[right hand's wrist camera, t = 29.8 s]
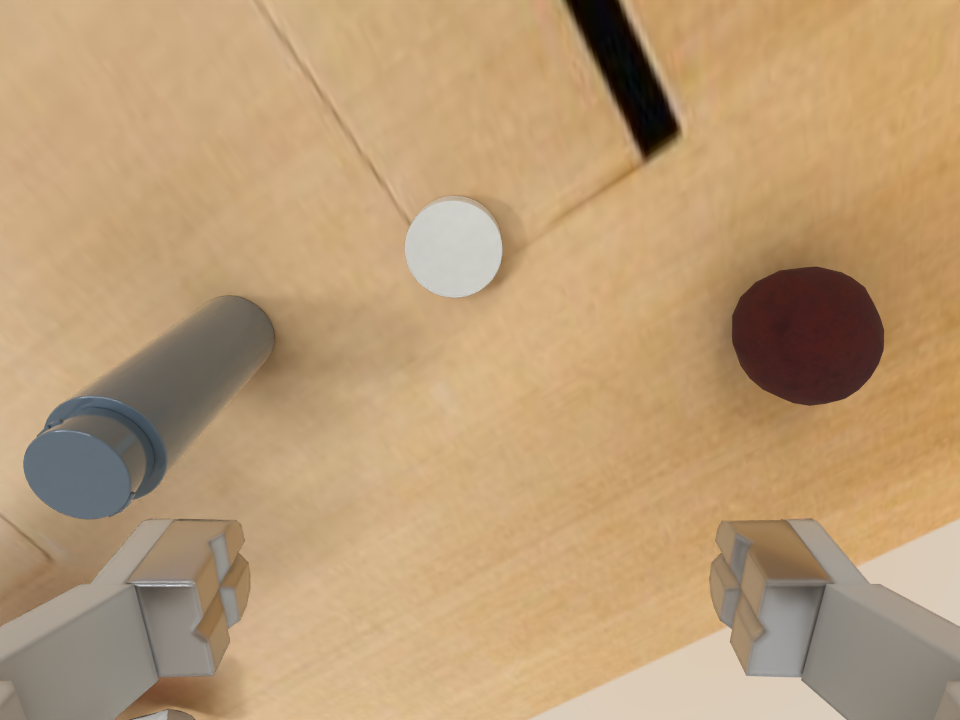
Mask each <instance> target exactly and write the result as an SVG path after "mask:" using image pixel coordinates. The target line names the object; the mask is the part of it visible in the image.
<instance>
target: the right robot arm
mask: <svg viewBox="0 0 960 720" xmlns="http://www.w3.org/2000/svg"><path fill="white" fill-rule="evenodd" d="M244 541H245V540H244V535H243V531H242V526H241V524H240V523H239V522H238V521H236V520H205V519H178V520H177V519H148V520H146V521H143V522H141V523H140V525H139V526H138V527H137V528H136V529H135V531H134V532H133V533H132V534H131V535H130V537H129V538H128V539H127V540H126V541H125V543H124V544H123V545H122V546H121V547H120V549H119V550H118V551H117V552H116V553H115V554H114V556H113V557H112V558H111V559H110V560H109V562H108V563H107V564H106V565H105V566H104V568H103V569H102V570H101V571H100V572H99V574H98V575H97V576H96V577H95V578H94V580H93V581H92V582H91V583H90V584H79V585H77V586H76V587H74V588H72V589H70V590H68V591H66V592H64V593H62V594H61V595H59V596H57V597H55V598H53V599H51V600H49V601H47V602H45V603H44V604H42V605H40V606H38V607H36V608H34V609H32V610H30V611H29V612H27V613H25V614H23V615H21V616H19V617H17V618H15V619H13V620H12V621H10V622H8V623H6V624H4V625H2V626H0V720H114V719H115V718H116V717H117V716H118V715H119V714H121V713H122V712H123V711H124V710H125V709H126V708H127V707H129V706H130V705H131V704H132V703H133V702H134V701H136V700H137V699H138V698H139V697H140V696H141V695H142V694H144V693H145V692H146V691H147V690H148V689H149V688H150V687H152V686H153V685H154V684H155V683H156V682H157V681H158V680H159V679H158V677H189V676H214V674H215V672H216V670H217V668H218V666H219V664H220V661H221V659H222V657H223V655H224V653H225V651H226V649H227V647H228V645H229V643H230V639H229V633H228V629H229V628H230V627H231V626H233V625H234V624H236V623H237V622H238V621H240V619H241V617H242V615H243V613H244V611H245V608H246V606H247V601H248V596H249V592H250V569H249V563H248V562H247V561H246V560H245V559H244V558H243V557H242V556H241V555H240V554H239V553H238V552H239V550H240V549H241V547H242V545H243V543H244ZM715 541H716V543H717V545H718V547H719V549H720V550H721V552H722V553H721V554H720V555H719V556H718V557H717V558H716V559H715V560H714V561H713V562H712V563H711V571H710V578H709V580H710V592H711V598H712V602H713V605H714V608H715V611H716V613H717V615H718V617H719V619H720V621H722V622H723V623H724V624H726V625H727V626H729V627H730V628H731V629H732V633H731V639H730V643H731V645H732V647H733V649H734V651H735V653H736V655H737V657H738V659H739V661H740V663H741V665H742V668H743V670H744V672H745V674H746V676H770V677H802V679H801V680H802V681H803V682H804V683H805V684H806V685H808V686H809V687H810V688H811V689H812V690H813V691H814V692H816V693H817V694H818V695H819V696H820V697H821V698H823V699H824V700H825V701H826V702H827V703H828V704H829V705H830V706H832V707H833V708H834V709H835V710H836V711H837V712H839V713H840V714H841V715H842V716H843V717H844V718H845V719H847V720H960V627H959V626H958V625H956V624H954V623H952V622H950V621H948V620H946V619H944V618H943V617H941V616H939V615H937V614H935V613H933V612H931V611H929V610H928V609H926V608H924V607H922V606H920V605H918V604H916V603H914V602H913V601H911V600H909V599H907V598H905V597H903V596H901V595H899V594H898V593H896V592H894V591H892V590H890V589H888V588H886V587H884V586H883V585H881V584H870V583H869V582H868V581H867V580H866V578H865V577H864V576H863V575H862V574H861V572H860V571H859V570H858V569H857V568H856V566H855V565H854V564H853V563H852V562H851V561H850V559H849V558H848V557H847V556H846V555H845V553H844V552H843V551H842V550H841V549H840V547H839V546H838V545H837V544H836V543H835V541H834V540H833V539H832V538H831V537H830V535H829V534H828V533H827V532H826V531H825V530H824V528H823V527H822V526H821V525H820V524H819V522H817V521H815V520H813V519H781V520H758V521H721V523H720V525H719V527H718V529H717V534H716V540H715Z"/></svg>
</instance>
